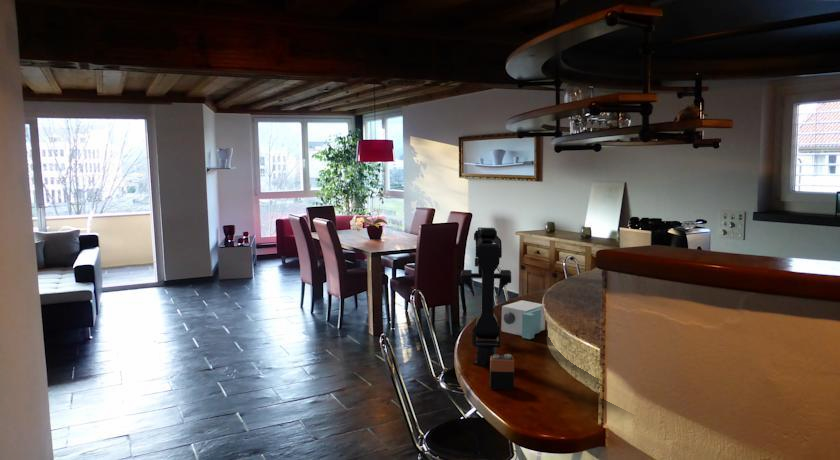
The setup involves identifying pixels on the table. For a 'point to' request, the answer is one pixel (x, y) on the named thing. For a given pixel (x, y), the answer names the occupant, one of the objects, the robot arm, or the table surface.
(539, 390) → the table surface
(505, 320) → the camera body
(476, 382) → the table surface
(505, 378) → the battery
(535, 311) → the side door
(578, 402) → the table surface
